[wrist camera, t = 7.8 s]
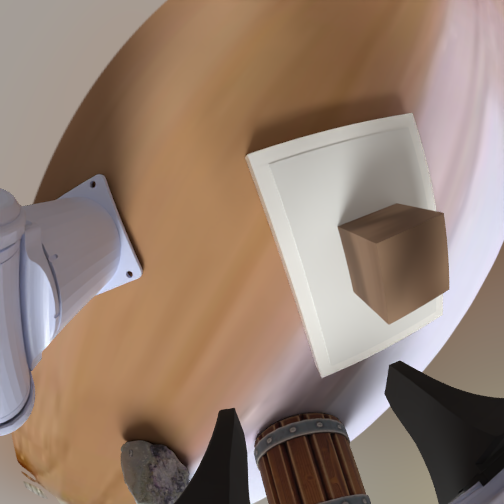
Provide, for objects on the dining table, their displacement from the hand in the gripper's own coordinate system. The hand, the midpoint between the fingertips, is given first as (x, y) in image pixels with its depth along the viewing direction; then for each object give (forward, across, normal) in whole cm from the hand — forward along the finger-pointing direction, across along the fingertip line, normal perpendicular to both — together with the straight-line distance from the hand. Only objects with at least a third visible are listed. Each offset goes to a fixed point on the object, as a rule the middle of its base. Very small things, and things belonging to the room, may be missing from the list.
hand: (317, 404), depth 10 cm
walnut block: (+8, -7, -4) cm, 12 cm away
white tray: (+10, -8, -3) cm, 13 cm away
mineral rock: (+11, +18, +21) cm, 30 cm away
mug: (+11, +1, +20) cm, 23 cm away
